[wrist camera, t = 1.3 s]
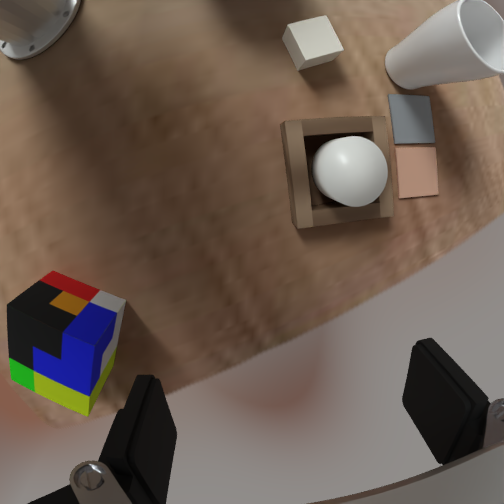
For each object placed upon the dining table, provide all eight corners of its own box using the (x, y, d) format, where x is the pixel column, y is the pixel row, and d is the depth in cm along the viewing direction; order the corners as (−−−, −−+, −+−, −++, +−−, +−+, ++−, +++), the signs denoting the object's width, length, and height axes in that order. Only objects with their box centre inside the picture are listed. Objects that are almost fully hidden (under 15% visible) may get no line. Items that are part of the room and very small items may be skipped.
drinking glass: (376, 88, 29) (461, 55, 15) (376, 35, 28) (451, -19, 13) (427, 102, 30) (520, 86, 15) (427, 51, 28) (511, 16, 14)
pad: (394, 148, 31) (395, 148, 31) (434, 147, 31) (435, 147, 31) (398, 197, 33) (399, 198, 32) (437, 194, 33) (438, 194, 33)
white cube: (281, 38, 28) (287, 24, 24) (316, 29, 27) (326, 15, 24) (297, 71, 29) (305, 60, 25) (331, 61, 29) (343, 49, 25)
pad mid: (387, 94, 30) (388, 94, 29) (427, 96, 30) (429, 96, 29) (394, 143, 31) (395, 143, 31) (433, 142, 31) (435, 142, 31)
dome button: (307, 141, 29) (318, 138, 25) (366, 137, 29) (384, 134, 25) (314, 203, 30) (326, 210, 26) (372, 197, 30) (389, 202, 26)
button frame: (280, 124, 30) (284, 121, 27) (372, 118, 30) (384, 116, 27) (292, 222, 33) (297, 228, 30) (381, 211, 33) (393, 216, 30)
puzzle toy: (126, 299, 35) (94, 346, 25) (113, 365, 37) (88, 416, 27) (53, 270, 33) (7, 304, 24) (47, 336, 36) (11, 379, 26)
